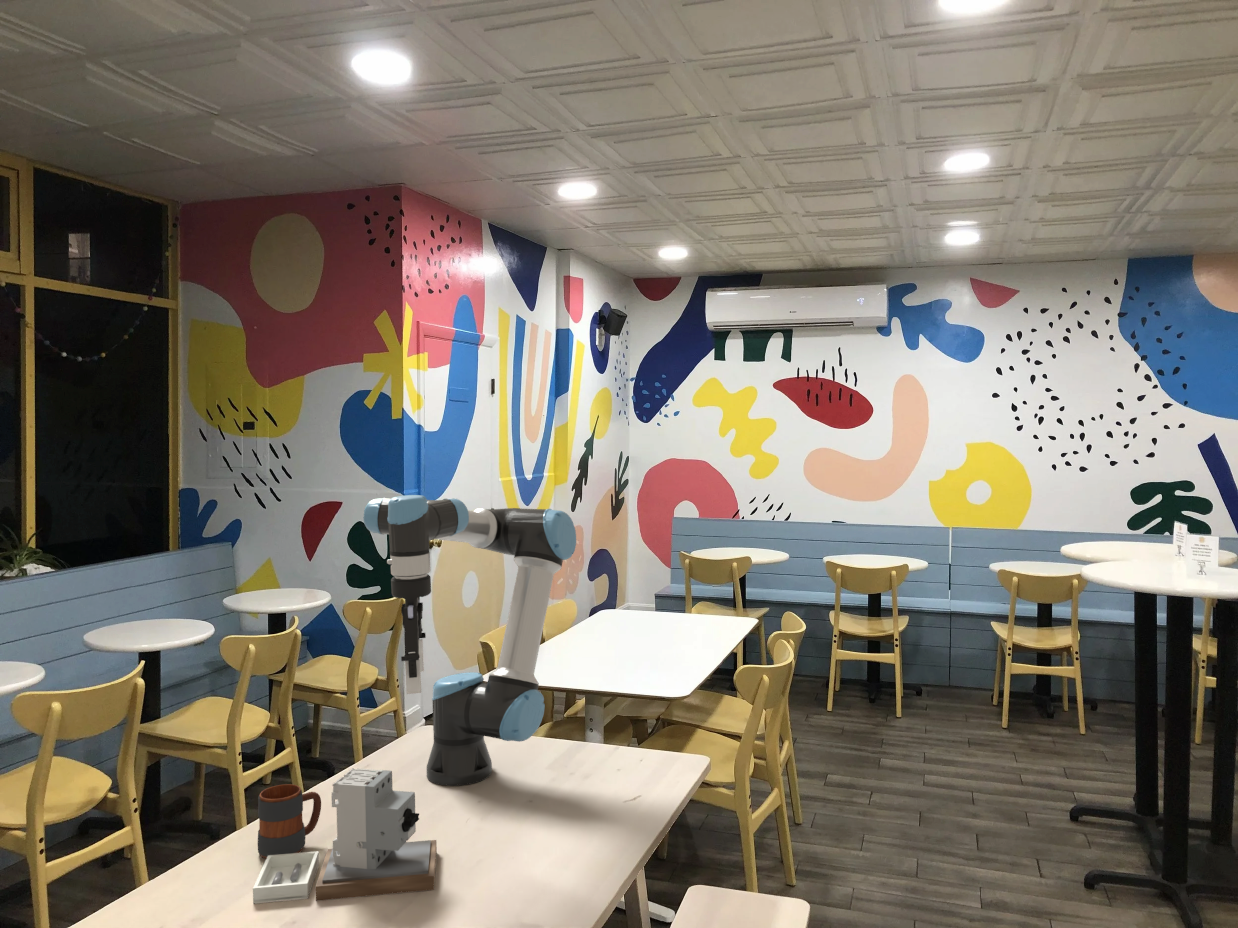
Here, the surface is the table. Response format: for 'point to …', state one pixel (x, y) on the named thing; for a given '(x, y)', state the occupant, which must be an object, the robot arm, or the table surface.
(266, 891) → the tray
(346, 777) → the circuit breaker
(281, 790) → the mug
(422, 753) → the table surface
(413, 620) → the robot arm
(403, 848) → the framed panel
